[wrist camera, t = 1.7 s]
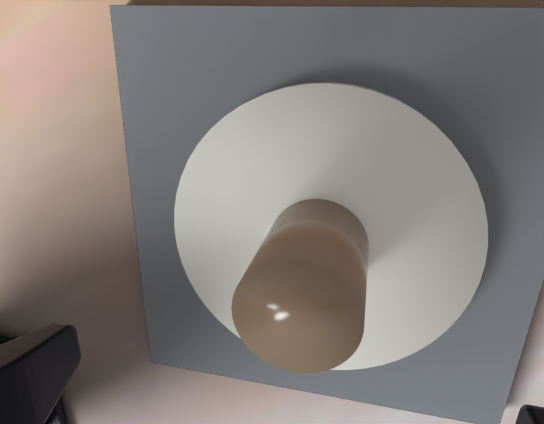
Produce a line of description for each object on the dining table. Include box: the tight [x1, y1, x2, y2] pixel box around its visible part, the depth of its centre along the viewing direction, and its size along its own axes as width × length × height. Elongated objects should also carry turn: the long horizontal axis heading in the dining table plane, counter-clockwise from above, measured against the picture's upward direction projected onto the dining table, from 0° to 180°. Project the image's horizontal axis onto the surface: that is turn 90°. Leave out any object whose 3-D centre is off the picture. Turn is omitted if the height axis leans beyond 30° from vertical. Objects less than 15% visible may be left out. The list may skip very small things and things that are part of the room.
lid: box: [174, 82, 488, 373], centre depth 12 cm, size 10×10×5 cm
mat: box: [110, 5, 544, 424], centre depth 15 cm, size 14×14×1 cm
